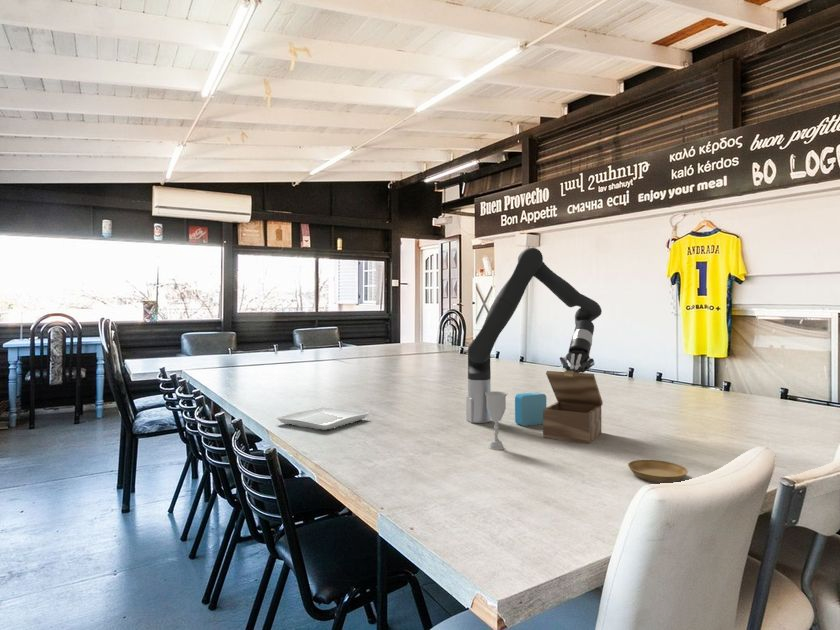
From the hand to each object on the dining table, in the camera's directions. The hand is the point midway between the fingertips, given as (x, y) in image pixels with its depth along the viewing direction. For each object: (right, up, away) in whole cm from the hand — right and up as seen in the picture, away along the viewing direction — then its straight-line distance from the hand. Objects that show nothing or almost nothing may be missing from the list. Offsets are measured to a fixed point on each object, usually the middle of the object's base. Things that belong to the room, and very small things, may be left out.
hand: (572, 379), depth 182 cm
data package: (-11, -20, +18) cm, 30 cm away
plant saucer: (+10, -21, -45) cm, 50 cm away
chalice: (-30, -21, -16) cm, 40 cm away
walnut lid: (+1, -4, +1) cm, 5 cm away
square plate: (-94, -21, +23) cm, 99 cm away
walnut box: (0, -20, +1) cm, 20 cm away
